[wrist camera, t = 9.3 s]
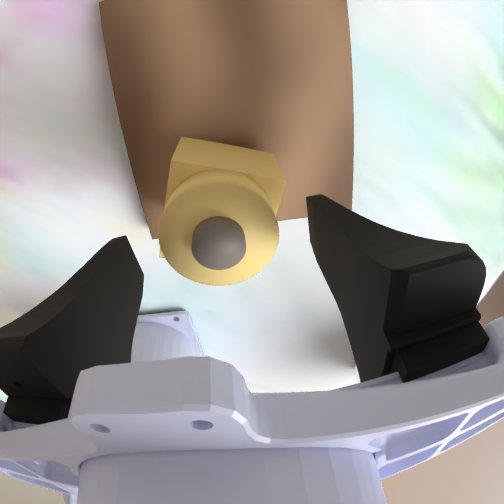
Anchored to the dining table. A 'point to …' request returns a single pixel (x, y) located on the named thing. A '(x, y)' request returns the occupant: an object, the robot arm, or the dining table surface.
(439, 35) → the dining table surface
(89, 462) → the robot arm
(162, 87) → the board
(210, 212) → the yellow socket block
